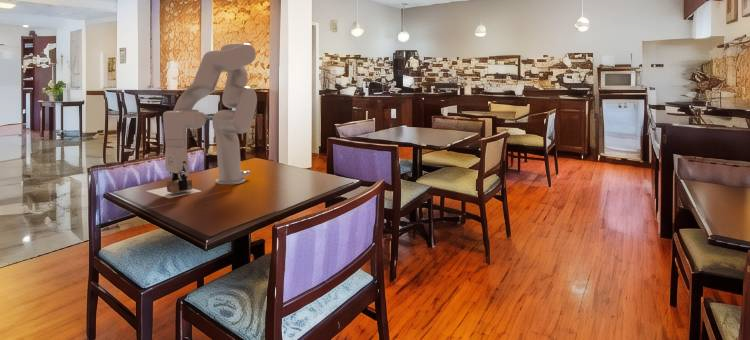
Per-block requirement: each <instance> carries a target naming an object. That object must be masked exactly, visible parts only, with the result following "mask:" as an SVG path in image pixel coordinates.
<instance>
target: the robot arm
mask: <svg viewBox="0 0 750 340" xmlns="http://www.w3.org/2000/svg"><path fill="white" fill-rule="evenodd" d="M256 55H257V52H256V49H255V47H254V46H253V45H251V44H250V43H246V42H244V43H227V44H224V45H223V46H222V47H221V48H220V50H210V51H207V52H206V53H204V55H203V56H202V59H201V62H200V64H199V66H198V69H197V71H196V74H195V77H194V79H193V81H192V83H191V84H190V85H189V86H187V88H186V89H185V90H184V91H183V92H182V93H181V95H180V96H179V97H178V99H177V100H176V103H175V106H174V108H173V110H167V111H164V112H162V113H163V114H162V120H163V131H164V132H163V133H164V143H165V150H164V151H165V153H164V156H165V157H164V160H165V163H164V164H165V170H166V171H167V172H169V174H170V178H171V181H172V180H178V179H179V181H178V182H179V190H180V191H182V190H187V189H188V188H187V179H188V176H189V175H190V173H191V172H190V160H189V154H188V150H187V149H188V148H187V147H188V146H187V134H186V131H187V130H186V129H193V130H194V129H201V128H203V126H205V124H206V122H207V117H206V114H205V113H204V112H203V111H201V110H199V109H194V107H195V105H196V104H197V103H198V102H199V101H200V100H202V99H204V98H206V97H207V96H209V95H211V94H212V93H213V92H215V90H216V86H217V85H218V81H219V79H220V77H221V74H222V72H223V73H225V72H226V73H227V76H226V81H225V84H224V89H223V91H222V95H221V102H222V104H223V106H225V107H226V108H228V109H221V110H218V111H216V112H215V113H214V114H213V116H212V123H211V124H212V128H213V130H214V135H215V142H216V155H217V156H216V157H217V169H218V171H217V172H218V178H216V179H215V180H214V182H215V184H218V185H227V186H233V185H239V184H243V183H245V182H246V178H245V177H246V176H249V175H251V171H250V170H245V171H244V170H242V163H241V148H240V145H241V144H240V139H239V136H238V134H245V133H247V132H248V131H249V130H250V129H251V126H252V123H253V120H254V117H255V113H256V109H257V103H258V96H257V95H258V94H257V93H256V91H255V89H253V88H252V87H250V86H247V84H248V72H247V70H246V66H249V65H251V64H252V63H253V62H254V61H255V59H256V57H257V56H256ZM231 109H235V110H231Z"/></svg>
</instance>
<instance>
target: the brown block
mask: <svg viewBox="0 0 750 340" xmlns="http://www.w3.org/2000/svg"><path fill="white" fill-rule="evenodd" d="M178 181H179V179H178V180H172V179H171V180H169V181H168V180H167V181H165V182H166V187H167V192H171V193H177V192H182V191H187V190H192V188H193V181H192V179H190V178H187V188H188V189H187V190H182V191H180V190H179V182H178Z"/></svg>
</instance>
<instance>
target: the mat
mask: <svg viewBox="0 0 750 340" xmlns="http://www.w3.org/2000/svg"><path fill="white" fill-rule="evenodd" d="M146 192H147V193H150V194H154V195H156V196H159V197H164V198H166V199H172V198H175V197H177V198H178V197H181V196H185V195H186V196H187V195H190V194H195V193H200V192H202V190H199V189H197V188H193V187H192V190H187V191H182V192H177V193H171V192H167V186H165V187H159V188H155V189H149V190H146Z"/></svg>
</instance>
